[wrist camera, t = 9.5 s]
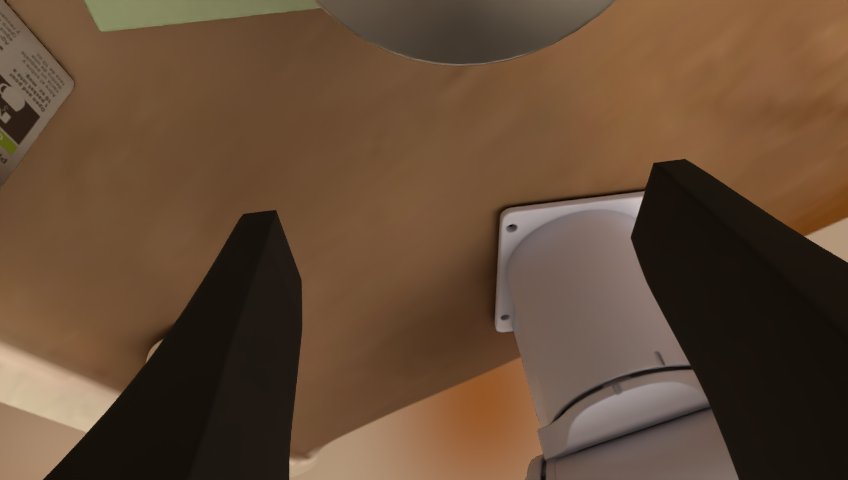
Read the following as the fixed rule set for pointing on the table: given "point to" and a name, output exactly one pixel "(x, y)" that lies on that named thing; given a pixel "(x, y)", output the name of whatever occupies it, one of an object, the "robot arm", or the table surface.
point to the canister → (463, 26)
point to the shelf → (182, 11)
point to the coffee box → (25, 90)
